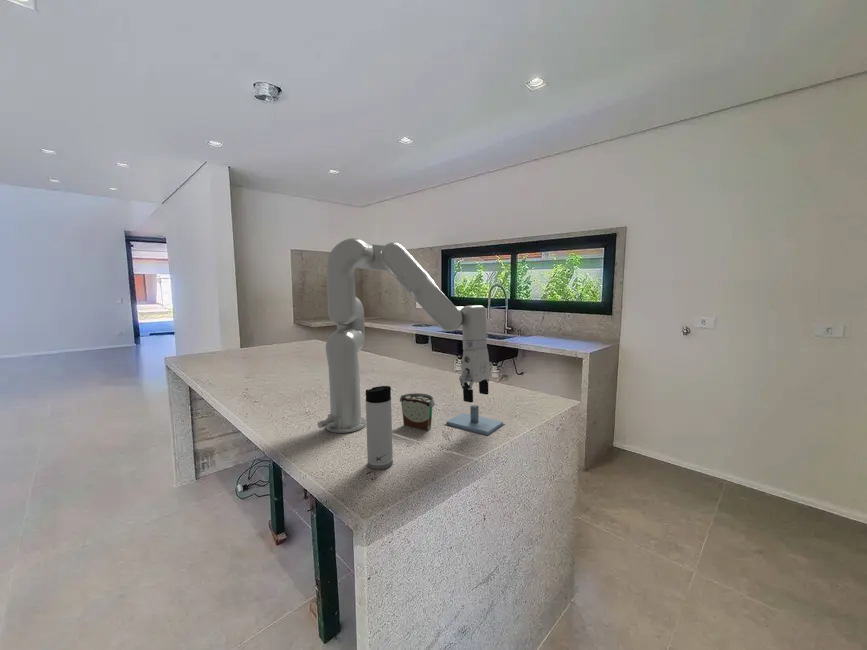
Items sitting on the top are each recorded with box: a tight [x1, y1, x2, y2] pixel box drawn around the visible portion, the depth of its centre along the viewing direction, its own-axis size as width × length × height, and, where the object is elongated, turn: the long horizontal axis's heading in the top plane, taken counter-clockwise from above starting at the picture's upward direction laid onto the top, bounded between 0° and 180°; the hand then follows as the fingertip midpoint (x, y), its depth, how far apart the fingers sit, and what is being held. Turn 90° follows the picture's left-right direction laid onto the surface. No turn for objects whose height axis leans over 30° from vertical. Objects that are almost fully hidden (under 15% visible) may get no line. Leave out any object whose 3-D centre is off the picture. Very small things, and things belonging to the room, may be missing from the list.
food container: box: [399, 392, 436, 432], centre depth 115 cm, size 12×6×10 cm, turn 58°
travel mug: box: [365, 385, 394, 471], centre depth 89 cm, size 6×7×20 cm
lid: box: [446, 404, 504, 435], centre depth 115 cm, size 10×15×6 cm, turn 53°
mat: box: [443, 422, 506, 437], centre depth 115 cm, size 12×16×1 cm
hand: (476, 397), depth 114 cm, fingers open, 9 cm apart
